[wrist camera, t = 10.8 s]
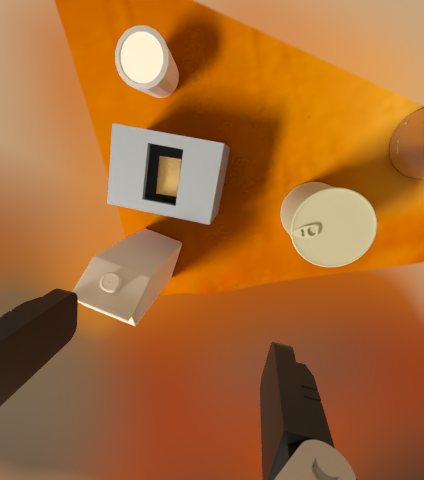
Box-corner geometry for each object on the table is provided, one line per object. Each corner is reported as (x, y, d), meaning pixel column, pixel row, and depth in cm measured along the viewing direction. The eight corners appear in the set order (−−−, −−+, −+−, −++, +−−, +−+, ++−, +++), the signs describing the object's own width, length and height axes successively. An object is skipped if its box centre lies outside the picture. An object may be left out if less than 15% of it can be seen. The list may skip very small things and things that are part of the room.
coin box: (230, 148, 40) (224, 143, 31) (218, 213, 43) (209, 224, 34) (141, 132, 41) (112, 123, 33) (135, 196, 44) (107, 203, 35)
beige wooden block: (190, 160, 40) (181, 159, 35) (186, 193, 42) (177, 196, 36) (171, 157, 41) (159, 155, 35) (168, 190, 42) (156, 193, 37)
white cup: (154, 38, 38) (132, 10, 31) (192, 70, 38) (179, 49, 31) (129, 83, 40) (104, 66, 33) (166, 112, 40) (148, 101, 33)
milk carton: (171, 278, 47) (119, 347, 29) (134, 263, 47) (60, 323, 29) (183, 242, 45) (135, 292, 27) (144, 227, 45) (71, 267, 27)
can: (277, 186, 40) (287, 194, 29) (342, 177, 39) (380, 181, 27) (283, 244, 42) (294, 273, 31) (344, 238, 41) (380, 265, 29)
